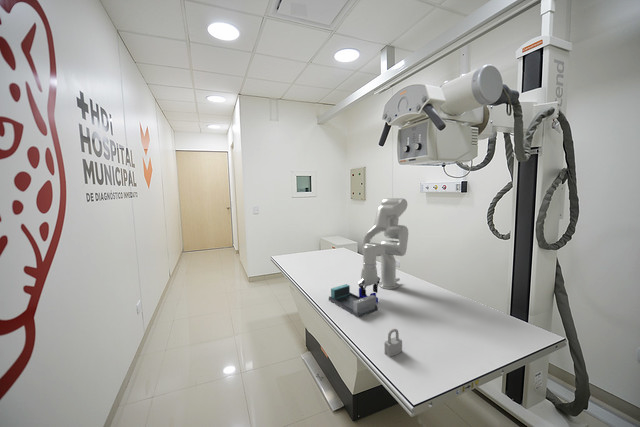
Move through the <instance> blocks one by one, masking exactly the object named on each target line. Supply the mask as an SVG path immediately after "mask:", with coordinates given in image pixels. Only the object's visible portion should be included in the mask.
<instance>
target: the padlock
mask: <svg viewBox="0 0 640 427" xmlns="http://www.w3.org/2000/svg"><path fill="white" fill-rule="evenodd" d="M393 333H395V337H392V335H393ZM387 334H388V335H387V340H386V341H384V343H383V344H384V354H385V355H387V356H388V357H389V358H390V357H393V356H396V355H399V354H400V353H402V352H403V340H402V339H401V338H400V336H399V335H400V334H399V330H398V329H397V328H391V329H390V330H389V331H388V333H387Z"/></svg>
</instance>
